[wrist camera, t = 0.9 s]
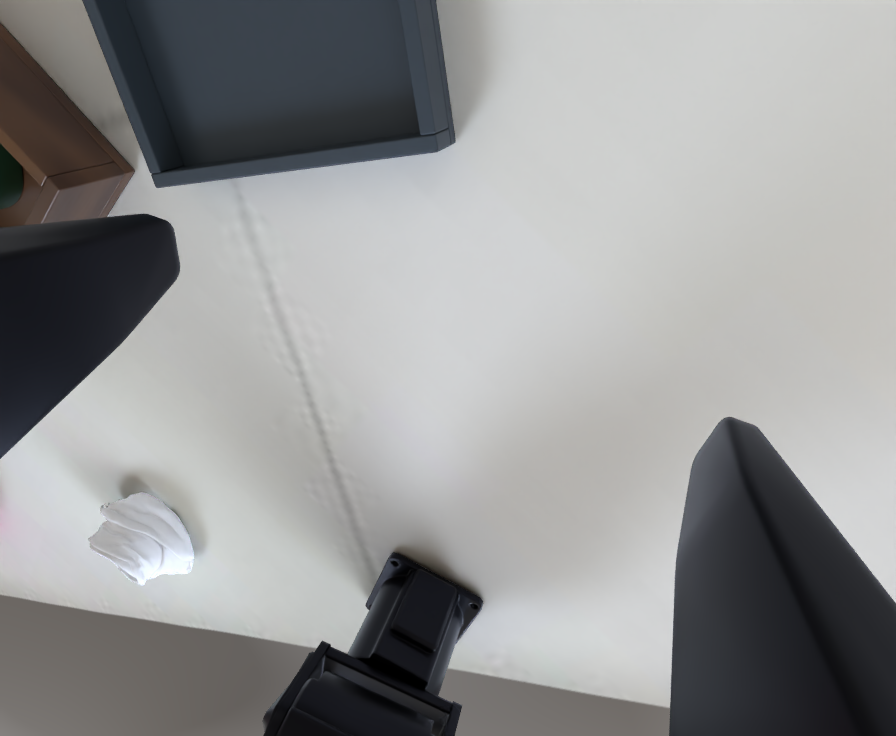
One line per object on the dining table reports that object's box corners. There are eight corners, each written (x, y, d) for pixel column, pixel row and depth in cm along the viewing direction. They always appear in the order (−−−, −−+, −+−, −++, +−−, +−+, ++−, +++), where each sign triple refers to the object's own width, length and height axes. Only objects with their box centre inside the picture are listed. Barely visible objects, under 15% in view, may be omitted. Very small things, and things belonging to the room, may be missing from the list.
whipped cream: (224, 541, 42) (185, 595, 38) (177, 568, 45) (137, 621, 41) (141, 471, 40) (90, 520, 35) (98, 504, 43) (47, 553, 38)
